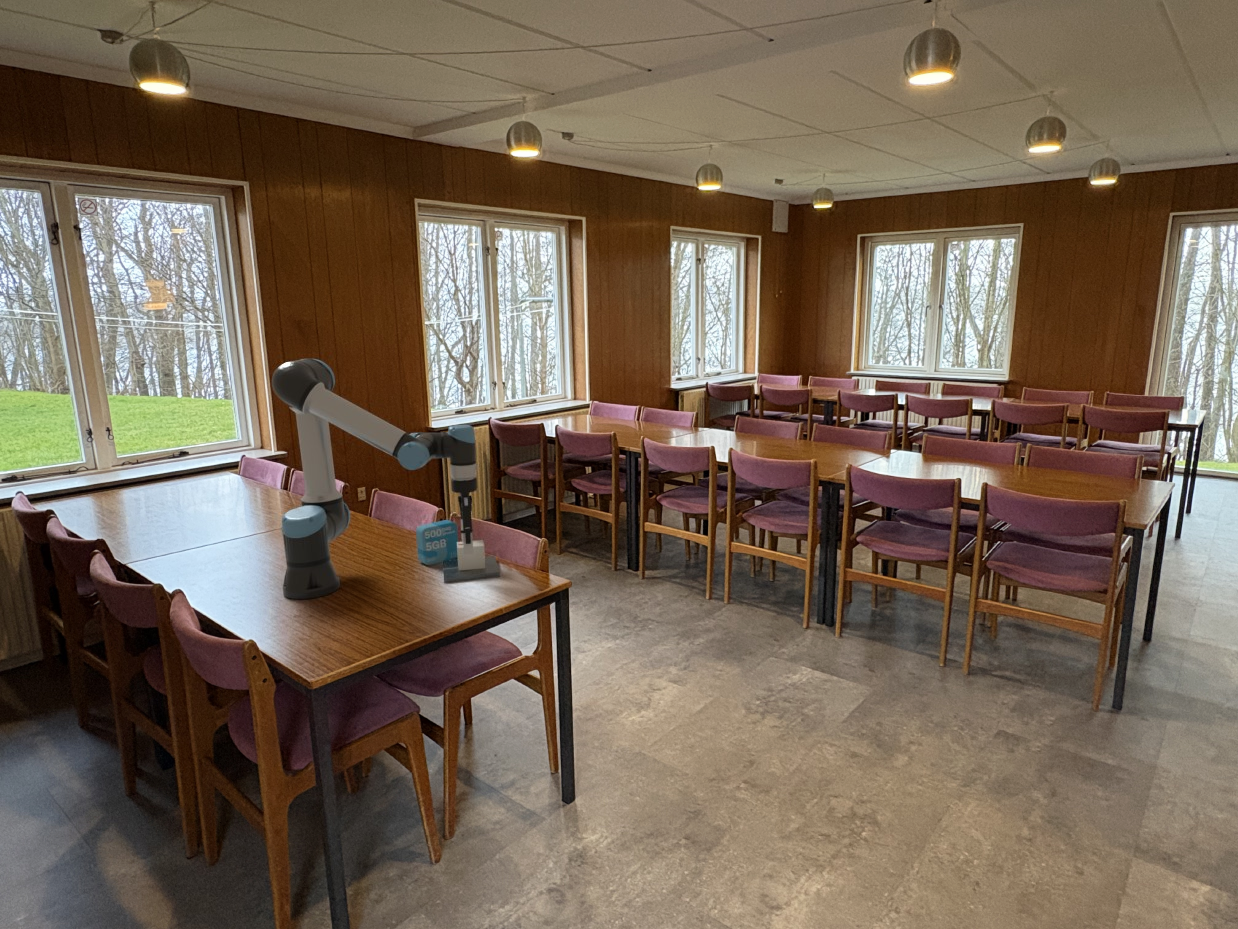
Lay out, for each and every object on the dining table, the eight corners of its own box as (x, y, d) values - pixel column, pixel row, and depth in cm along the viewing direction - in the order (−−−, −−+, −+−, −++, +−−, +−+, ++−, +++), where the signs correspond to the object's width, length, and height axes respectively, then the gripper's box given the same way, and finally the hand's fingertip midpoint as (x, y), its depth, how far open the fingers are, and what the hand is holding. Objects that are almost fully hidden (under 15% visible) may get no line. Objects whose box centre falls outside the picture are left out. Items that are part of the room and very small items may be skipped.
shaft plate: (499, 576, 228) (498, 559, 227) (443, 583, 224) (442, 564, 223) (495, 560, 243) (493, 543, 242) (442, 565, 239) (440, 548, 238)
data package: (424, 566, 239) (421, 529, 237) (418, 563, 243) (415, 526, 240) (459, 557, 247) (456, 521, 244) (452, 554, 250) (450, 518, 248)
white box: (485, 568, 231) (484, 545, 230) (458, 570, 229) (457, 547, 228) (483, 561, 237) (482, 539, 236) (457, 564, 235) (456, 541, 234)
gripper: (479, 486, 217) (482, 558, 221) (474, 468, 240) (477, 534, 245) (452, 488, 215) (456, 560, 219) (449, 469, 239) (453, 536, 243)
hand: (467, 546), depth 232 cm, fingers open, 13 cm apart
